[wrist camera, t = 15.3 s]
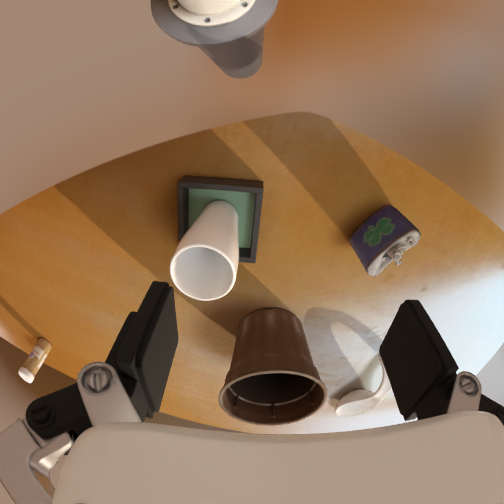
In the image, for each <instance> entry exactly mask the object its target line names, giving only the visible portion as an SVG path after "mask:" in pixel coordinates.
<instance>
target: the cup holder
mask: <svg viewBox="0 0 504 504" xmlns="http://www.w3.org/2000/svg"><path fill="white" fill-rule="evenodd" d="M262 197H263V181H253V180H242V179H229V178H215V177H198V176H184V177H183V178H182V179H181V180H180V181H179V182H178V238H179V242H180V241H181V239H182V238H183V236H184V235H185V233H186V232H187V231H188V229H189V228H190V227H191V226H192V224H193V223H194V222H195V221H196V219H197V218H198V217H199V215H200V214H201V213H202V211H203V209H204V208H205V207H206V206H207V205H208V204H209V203H211V202H213V201H218V200H221V201H226V202H228V203H230V204H231V205H233V206H234V207H235V209H236V210H237V212H238V216H239V222H238V238H239V262H247V263H255V261H256V252H257V243H258V234H259V225H260V216H261V206H262Z"/></svg>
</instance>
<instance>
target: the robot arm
mask: <svg viewBox="0 0 504 504" xmlns="http://www.w3.org/2000/svg"><path fill="white" fill-rule="evenodd" d="M255 1H256V0H168V4H169V7H170V9H171V11H172V12H173V13H174V14H175V15H176V16H177V17H178V18H179V19H181V20H182V21H184V22H186V23H189V24H191V25H195V26H201V27H211V26H219V25H223V24H227V23H229V22H232V21H234V20H236V19H238V18H239V17H241V16H243V15H244V14H245V13H246V12H247V11H249V9H250V8H251V7H252V6H253V5H254V3H255ZM245 5H246V6H247V7H243V6H245ZM176 7H178V8H176ZM207 21H210V22H209V23H207ZM177 344H178V330H177V321H176V312H175V301H174V290H173V287H169V284H168V283H167V282H159V281H153V282H152V284H151V286H150V288H149V290H148V292H147V294H146V296H145V298H144V300H143V302H142V304H141V306H140V308H139V309H138V311H137V312H133V311H132V312H130V314H129V315H128V317H127V319H126V321H125V323H124V325H123V327H122V329H121V331H120V333H119V335H118V337H117V339H116V341H115V343H114V345H113V347H112V349H111V351H110V353H109V355H108V357H107V359H106V361H105V363H104V362H93V363H90V364H88V365H86V366H85V367H83V368H82V369H81V371H80V372H79V374H78V377H77V383H75V384H73V385H71V386H68V387H66V388H63V389H61V390H59V391H56V392H54V393H51V394H48V395H46V396H44V397H41V398H38V399H36V400H34V401H33V402H32V403H31V404H30V405H29V406H28V408H27V410H26V418H24V419H23V420H21V419H20V418H19V419H18V420H17V421H15V422H14V423H13V424H11V425H10V426H9V427H8V428H6V429H5V430H4V431H3V432H1V433H0V481H1V483H2V485H3V486H4V488H5V489H6V491H7V492H8V494H9V495H10V497H11V498H12V500H13V501H14V502H15V504H504V407H503V406H501V405H500V404H498V403H496V402H494V401H493V400H491V399H489V398H488V397H486V396H484V395H482V394H481V384H480V382H479V380H478V379H477V378H476V376H475V375H473V374H472V373H470V372H465V371H463V372H460V373H459V374H458V375H457V374H456V371H457V370H458V366H457V364H456V362H455V360H454V358H453V357H452V355H451V353H450V351H449V349H448V348H447V346H446V344H445V342H444V341H443V339H442V337H441V335H440V334H439V332H438V330H437V329H436V327H435V325H434V324H433V322H432V320H431V319H430V317H429V315H428V314H427V312H426V311H425V309H424V308H423V306H422V304H421V303H420V302H419V300H406V301H404V303H402V304H401V305H400V307H399V310H398V312H397V314H396V316H395V318H394V320H393V322H392V324H391V326H390V328H389V330H388V332H387V334H386V336H385V338H384V340H383V342H382V344H381V346H380V350H379V353H380V356H381V359H382V362H383V364H384V367H385V370H386V373H387V375H388V378H389V381H390V384H391V387H392V390H393V393H394V396H395V399H396V402H397V405H398V408H399V411H400V413H401V415H403V416H404V419H405V421H408V420H412V419H415V418H416V417H417V418H418V420H417V421H413V422H408V423H403V424H397V425H391V426H385V427H379V428H372V429H364V430H356V431H346V432H335V433H320V434H248V433H233V432H221V431H210V430H201V429H192V428H185V427H178V426H170V425H162V424H155V423H143V422H144V420H145V417H148V418H153V414H154V411H155V412H158V411H159V409H160V405H161V402H162V398H163V394H164V390H165V387H166V383H167V379H168V376H169V372H170V368H171V365H172V361H173V358H174V354H175V351H176V347H177ZM62 455H67V458H66V460H65V462H64V465H63V467H62V470H61V473H60V476H59V479H58V482H57V486H56V489H55V488H54V487H53V485H52V484H51V482H50V477H49V474H50V470H51V468H52V467H53V466H54V465H55V464H57V463H58V461H57V459H58V458H60V457H61V456H62Z"/></svg>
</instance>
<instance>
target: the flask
mask: <svg viewBox="0 0 504 504" xmlns="http://www.w3.org/2000/svg"><path fill="white" fill-rule="evenodd" d="M420 236H421V233H420V232H419V230H418V229H417V228H416V227H415V226H414V225H413V224H412V223H411V222H410V221H409V220H408V219H407V218H406V217H405V216H403V215H402V213H400V212H399V211H398V210H397V209H396V208H394V207H393V206H392V205H390V204H389V205H386V206H383V207H381V208H380V209H378V210H377V211H376V212H374V213H373V214H371V215H370V216H369V217H368V218H367V219H366V220H365V221H364V222H363V223H362V224H361V225H360V226H359V227H358V228H357V229H356V230H355V231H354V232H353V233H352V235H351V237H350V244H351V246H352V248H353V249H354V251H355V252H356V254H357V256H358V257H359V259H360V261H361V263H362V264H363V266H364V268H365V270H366V272H367V273H368V274H369V275H371V276H377V275H378V274H380V273H381V272H382V271H383V270H384V269H385V268H386V266H388V265H389V264H390V263H391V262H392V261H393V260H394V261H395V265H399V264H401V263H402V262H399V260H400V259H402V254H403V252H405V251H406V250H407V249H409V248H411V247H414V246H415V245H416V244H417V243H418V242H419V239H420Z"/></svg>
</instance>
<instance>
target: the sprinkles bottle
mask: <svg viewBox="0 0 504 504" xmlns="http://www.w3.org/2000/svg"><path fill="white" fill-rule="evenodd" d="M51 349H52V347H51V345H50V343H49V342H48V341H47V340H45V339H43V338H40V339H39V341H38V342H37V344H36V345H35V347H34V348H33V350H32V351H31V353H30V355H29V356H28V358H27V360H26V361H25V363H24V365H23V366H22V367H21V368H20V370H19V371H18V372H19V375H20V376H21V377H22V378H23V379H24V380H25V381H27V382H28V383H32V381H33V380H34V377H35V375H36V373H37V371H38V370H39V368H40V366H41V365H42V363H43V362H44V360H45V358H46V357H47V354H48V353H49V351H50V350H51Z"/></svg>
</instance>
